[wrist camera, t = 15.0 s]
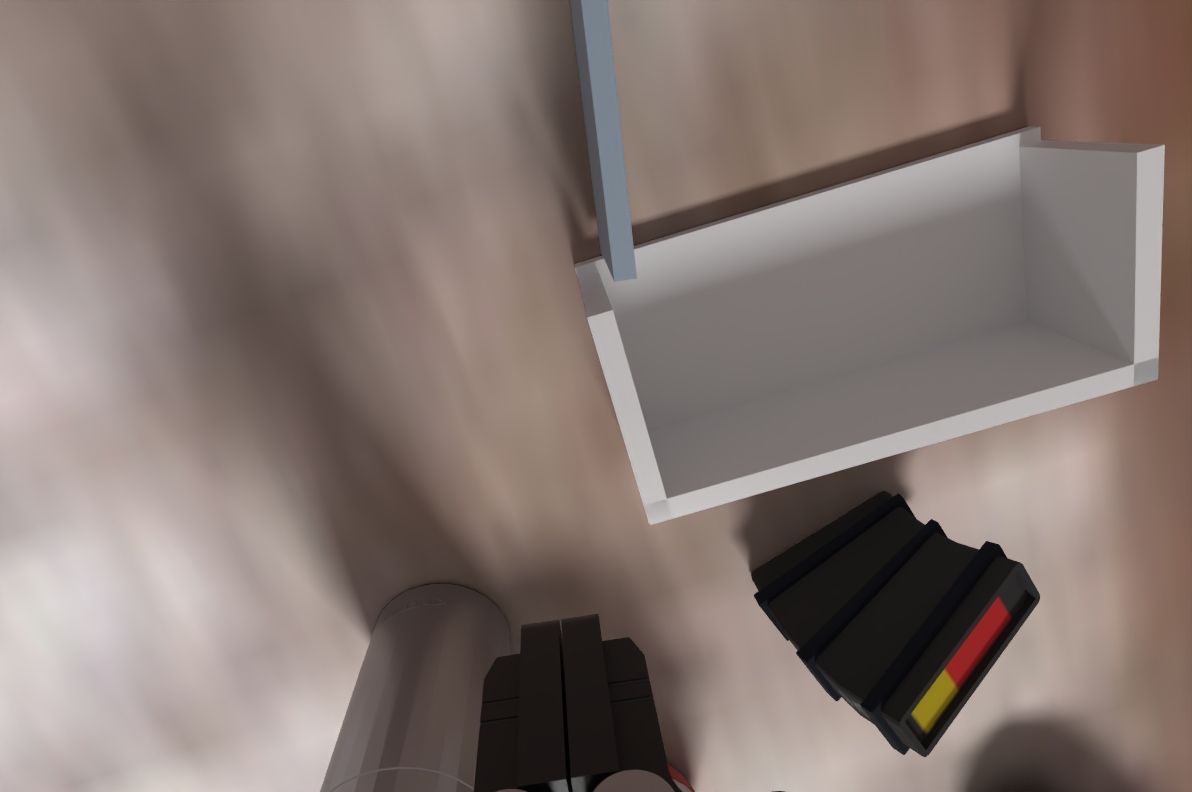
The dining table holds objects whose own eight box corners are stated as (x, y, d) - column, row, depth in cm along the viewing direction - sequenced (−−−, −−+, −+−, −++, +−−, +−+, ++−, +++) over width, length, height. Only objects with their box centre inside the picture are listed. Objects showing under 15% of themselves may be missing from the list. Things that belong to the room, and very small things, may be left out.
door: (556, -298, 29) (562, -433, 22) (618, 248, 37) (636, 278, 30) (514, -292, 29) (505, -425, 22) (585, 253, 37) (596, 284, 30)
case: (1036, 328, 42) (1157, 379, 34) (628, 447, 43) (649, 525, 35) (1028, 126, 38) (1165, 128, 30) (573, 264, 39) (582, 302, 31)
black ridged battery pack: (711, 609, 46) (890, 725, 33) (832, 472, 50) (1039, 526, 36) (740, 644, 48) (924, 769, 34) (856, 508, 51) (1064, 572, 38)
